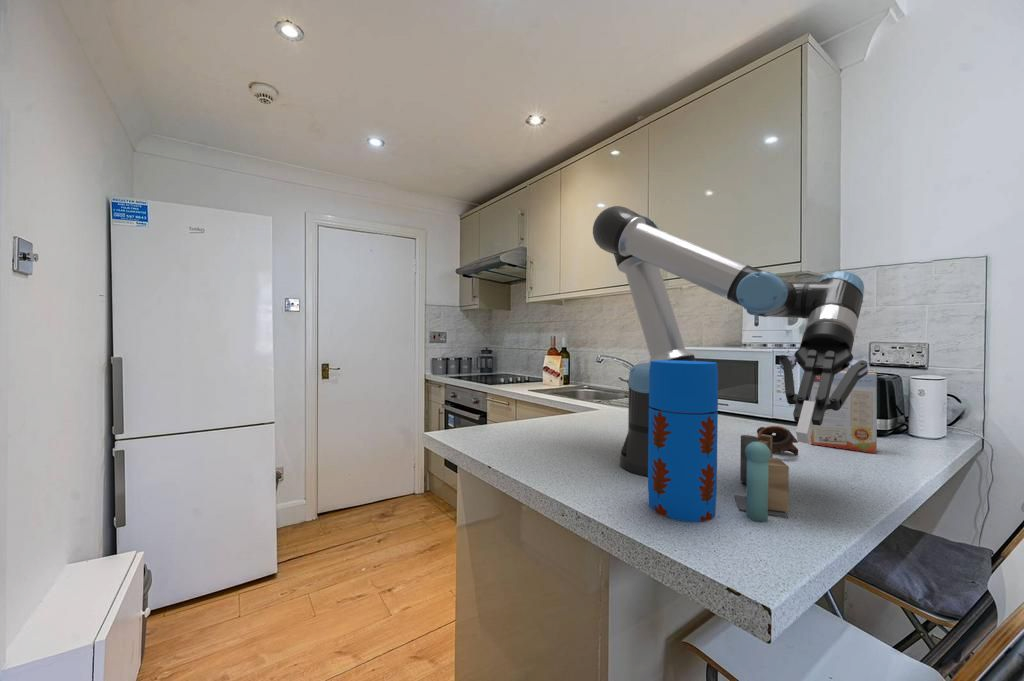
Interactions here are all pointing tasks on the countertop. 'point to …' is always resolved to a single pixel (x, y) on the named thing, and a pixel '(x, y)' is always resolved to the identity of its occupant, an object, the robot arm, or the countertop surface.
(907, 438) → the countertop surface
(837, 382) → the cracker box
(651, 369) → the thermos
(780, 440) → the pottery mug
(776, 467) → the wooden u-shaped block
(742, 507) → the pad
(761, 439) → the fence
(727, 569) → the countertop surface
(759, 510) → the post
